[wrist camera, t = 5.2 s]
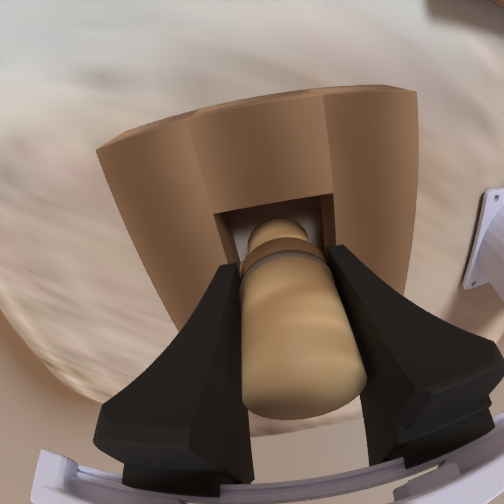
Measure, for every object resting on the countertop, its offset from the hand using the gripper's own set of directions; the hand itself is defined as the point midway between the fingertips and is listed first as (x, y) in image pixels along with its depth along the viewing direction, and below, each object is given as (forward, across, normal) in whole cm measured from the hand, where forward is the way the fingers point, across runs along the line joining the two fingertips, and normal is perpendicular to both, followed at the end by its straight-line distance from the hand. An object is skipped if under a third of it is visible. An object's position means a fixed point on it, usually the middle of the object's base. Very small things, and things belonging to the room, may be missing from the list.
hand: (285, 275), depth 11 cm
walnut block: (+4, 0, 0) cm, 4 cm away
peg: (+2, 0, 0) cm, 2 cm away
